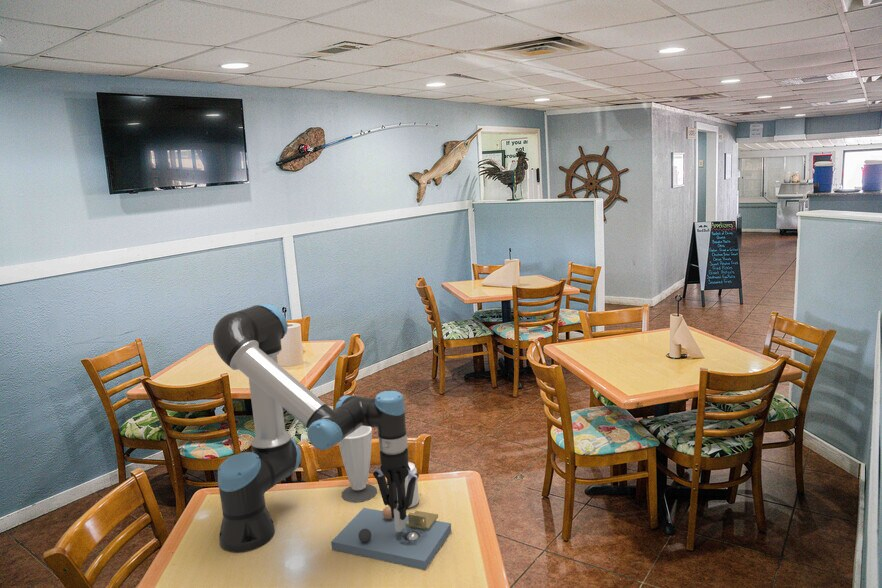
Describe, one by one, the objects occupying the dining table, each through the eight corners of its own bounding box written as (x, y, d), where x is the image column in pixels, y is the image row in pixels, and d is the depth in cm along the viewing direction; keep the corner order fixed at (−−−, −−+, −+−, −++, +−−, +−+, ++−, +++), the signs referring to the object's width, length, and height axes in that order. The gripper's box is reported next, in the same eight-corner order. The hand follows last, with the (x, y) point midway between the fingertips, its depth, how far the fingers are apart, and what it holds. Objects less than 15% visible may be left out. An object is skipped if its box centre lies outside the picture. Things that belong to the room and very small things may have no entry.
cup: (364, 480, 204) (359, 419, 200) (384, 493, 196) (379, 429, 192) (334, 493, 197) (328, 430, 193) (353, 506, 189) (347, 441, 184)
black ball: (356, 543, 165) (355, 532, 164) (363, 536, 168) (361, 525, 168) (367, 546, 164) (366, 534, 163) (374, 538, 167) (373, 527, 166)
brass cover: (405, 526, 172) (404, 513, 171) (416, 513, 178) (415, 501, 177) (428, 530, 169) (427, 517, 168) (438, 516, 176) (437, 504, 175)
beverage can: (415, 510, 184) (412, 474, 182) (389, 509, 186) (386, 472, 184) (421, 496, 192) (419, 461, 190) (396, 495, 194) (394, 460, 192)
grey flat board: (331, 549, 167) (331, 541, 167) (364, 515, 184) (363, 507, 183) (425, 570, 157) (424, 561, 156) (451, 531, 173) (450, 523, 172)
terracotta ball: (380, 520, 176) (379, 509, 175) (386, 514, 179) (385, 503, 178) (391, 522, 174) (390, 511, 174) (397, 516, 177) (396, 505, 177)
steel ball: (418, 542, 165) (412, 550, 166) (423, 535, 168) (417, 543, 169) (408, 534, 165) (402, 542, 167) (413, 526, 169) (407, 535, 170)
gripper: (365, 452, 163) (372, 532, 167) (409, 458, 158) (415, 540, 162) (378, 440, 170) (385, 517, 174) (421, 445, 165) (427, 525, 169)
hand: (399, 528), depth 168 cm, fingers closed
